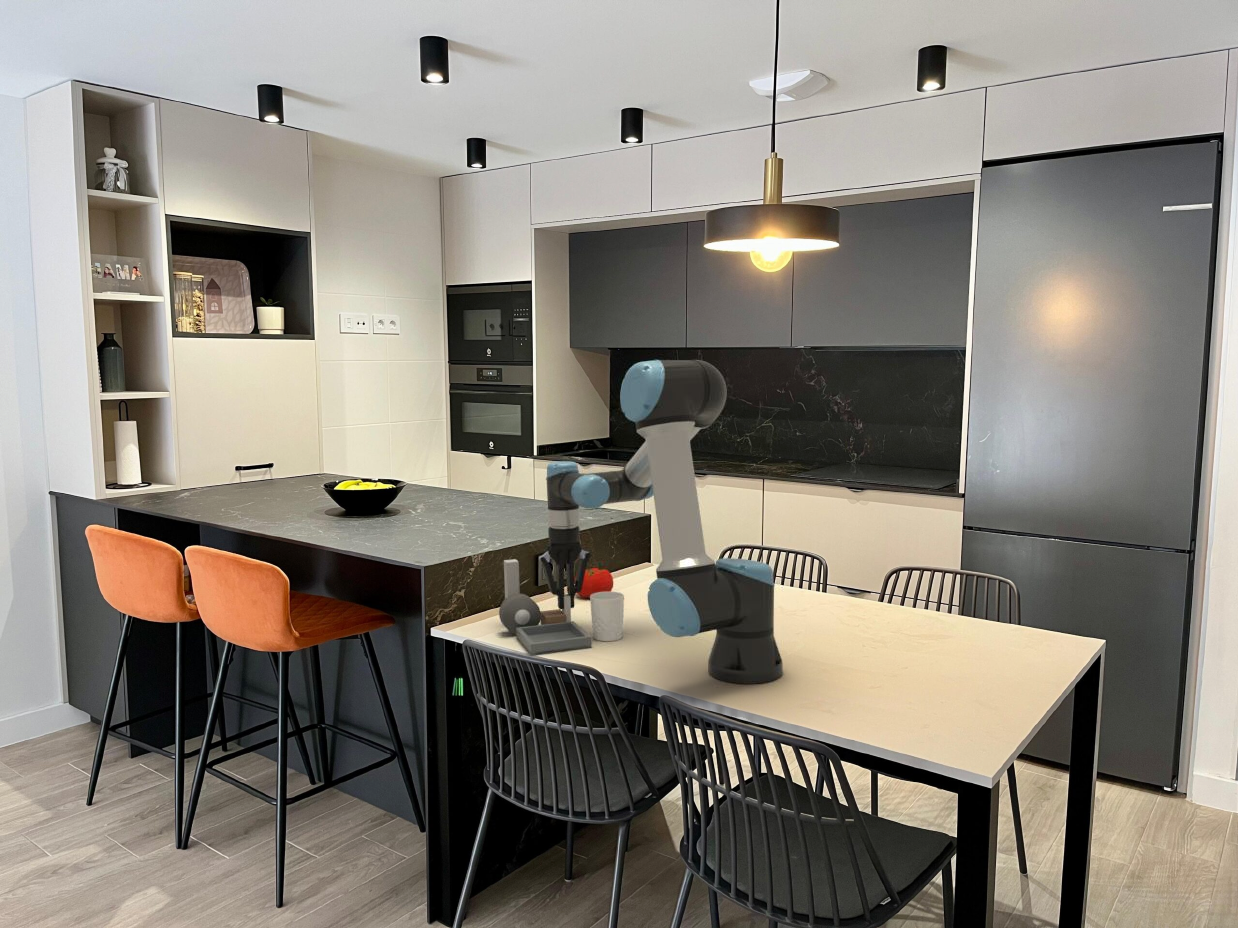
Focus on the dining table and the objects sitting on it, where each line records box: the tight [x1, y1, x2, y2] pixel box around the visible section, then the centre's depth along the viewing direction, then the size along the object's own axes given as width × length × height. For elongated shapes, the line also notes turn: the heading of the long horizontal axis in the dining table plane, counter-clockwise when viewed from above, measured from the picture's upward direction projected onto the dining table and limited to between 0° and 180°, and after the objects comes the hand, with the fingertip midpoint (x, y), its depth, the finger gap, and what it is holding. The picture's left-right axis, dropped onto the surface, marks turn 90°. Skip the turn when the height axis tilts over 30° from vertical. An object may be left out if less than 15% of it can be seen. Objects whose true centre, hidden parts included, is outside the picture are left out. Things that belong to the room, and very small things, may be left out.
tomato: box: [574, 567, 614, 599], centre depth 250 cm, size 11×11×8 cm
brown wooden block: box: [539, 608, 567, 625], centre depth 220 cm, size 6×5×4 cm
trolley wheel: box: [498, 558, 541, 636], centre depth 219 cm, size 12×9×16 cm
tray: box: [515, 620, 593, 656], centre depth 208 cm, size 14×14×2 cm
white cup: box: [589, 591, 625, 642], centre depth 211 cm, size 8×8×10 cm
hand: (566, 621), depth 221 cm, fingers closed
